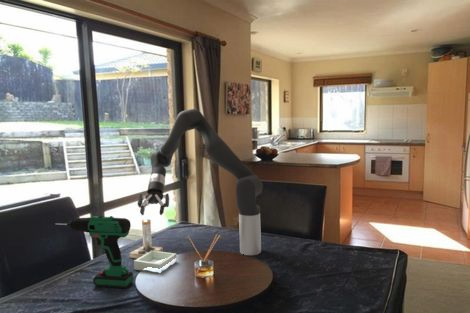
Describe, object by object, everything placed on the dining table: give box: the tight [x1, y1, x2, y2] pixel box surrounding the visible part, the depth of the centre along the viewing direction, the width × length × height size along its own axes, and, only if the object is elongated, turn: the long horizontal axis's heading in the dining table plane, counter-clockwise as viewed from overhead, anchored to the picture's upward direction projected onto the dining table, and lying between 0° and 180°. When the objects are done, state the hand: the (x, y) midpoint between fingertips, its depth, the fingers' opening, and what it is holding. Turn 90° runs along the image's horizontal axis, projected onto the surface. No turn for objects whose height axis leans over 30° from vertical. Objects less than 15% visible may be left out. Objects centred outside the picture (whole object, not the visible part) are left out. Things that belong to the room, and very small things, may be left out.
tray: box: [133, 251, 177, 271], centre depth 148 cm, size 12×12×4 cm
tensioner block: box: [129, 245, 164, 259], centre depth 160 cm, size 10×10×3 cm
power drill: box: [54, 215, 134, 289], centre depth 132 cm, size 6×29×25 cm, turn 78°
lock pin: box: [141, 218, 153, 252], centre depth 160 cm, size 4×4×15 cm
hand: (151, 214), depth 168 cm, fingers open, 8 cm apart
